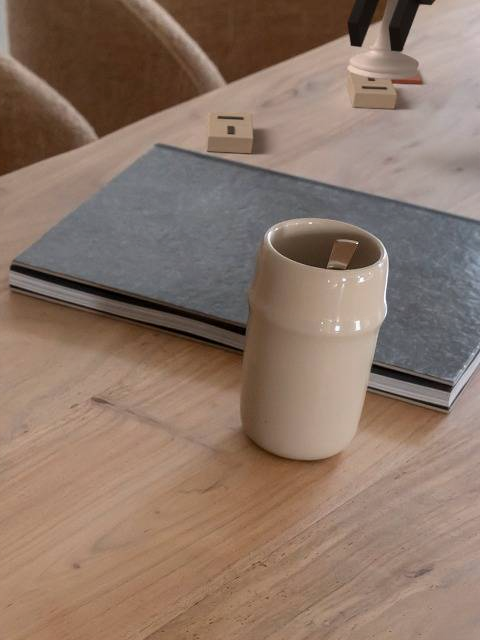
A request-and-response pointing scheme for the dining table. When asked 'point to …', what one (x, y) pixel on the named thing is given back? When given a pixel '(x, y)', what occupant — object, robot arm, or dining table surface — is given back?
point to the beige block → (371, 92)
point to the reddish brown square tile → (408, 80)
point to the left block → (229, 132)
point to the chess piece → (384, 55)
